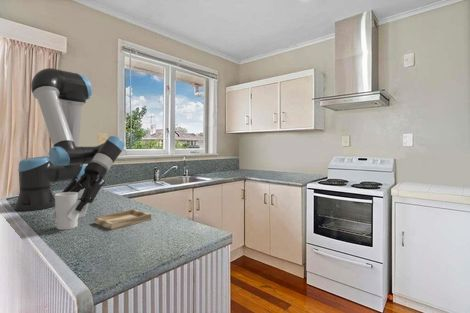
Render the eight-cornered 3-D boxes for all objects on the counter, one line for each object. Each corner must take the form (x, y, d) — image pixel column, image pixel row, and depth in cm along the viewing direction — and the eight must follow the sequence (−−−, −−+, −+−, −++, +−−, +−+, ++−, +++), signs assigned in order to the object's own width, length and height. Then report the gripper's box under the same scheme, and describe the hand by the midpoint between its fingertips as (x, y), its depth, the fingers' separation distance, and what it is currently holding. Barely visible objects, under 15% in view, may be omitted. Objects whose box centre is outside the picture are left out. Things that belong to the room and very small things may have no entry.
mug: (57, 231, 88) (56, 196, 87) (54, 226, 93) (53, 193, 92) (90, 225, 94) (90, 193, 94) (86, 221, 99) (85, 190, 99)
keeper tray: (95, 223, 97) (95, 217, 97) (133, 214, 109) (133, 209, 109) (111, 230, 89) (111, 224, 89) (151, 219, 102) (151, 214, 101)
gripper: (123, 174, 104) (90, 225, 90) (85, 172, 110) (48, 220, 96) (113, 161, 99) (76, 214, 84) (74, 160, 105) (33, 209, 90)
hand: (61, 217), depth 90 cm, fingers closed on mug, 7 cm apart
